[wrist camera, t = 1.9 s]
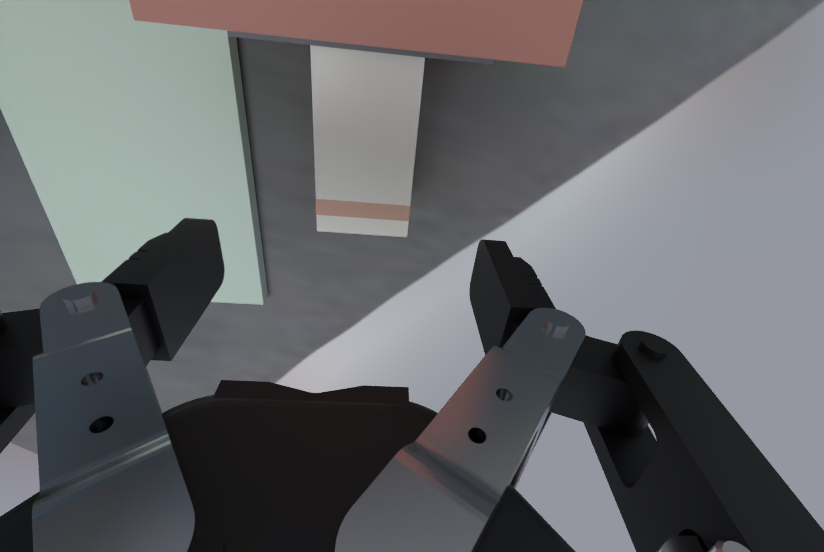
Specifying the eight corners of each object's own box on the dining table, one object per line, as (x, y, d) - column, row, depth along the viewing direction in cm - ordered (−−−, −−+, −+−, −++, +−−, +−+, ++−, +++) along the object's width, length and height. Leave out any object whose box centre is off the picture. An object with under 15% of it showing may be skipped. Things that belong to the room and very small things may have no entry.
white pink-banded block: (328, -89, 18) (302, -134, 13) (428, -76, 18) (442, -113, 13) (332, 188, 25) (316, 231, 20) (404, 193, 25) (407, 237, 20)
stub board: (-40, -39, 18) (-65, -42, 17) (230, -7, 19) (221, -9, 18) (93, 285, 28) (81, 295, 27) (267, 294, 29) (263, 304, 28)
